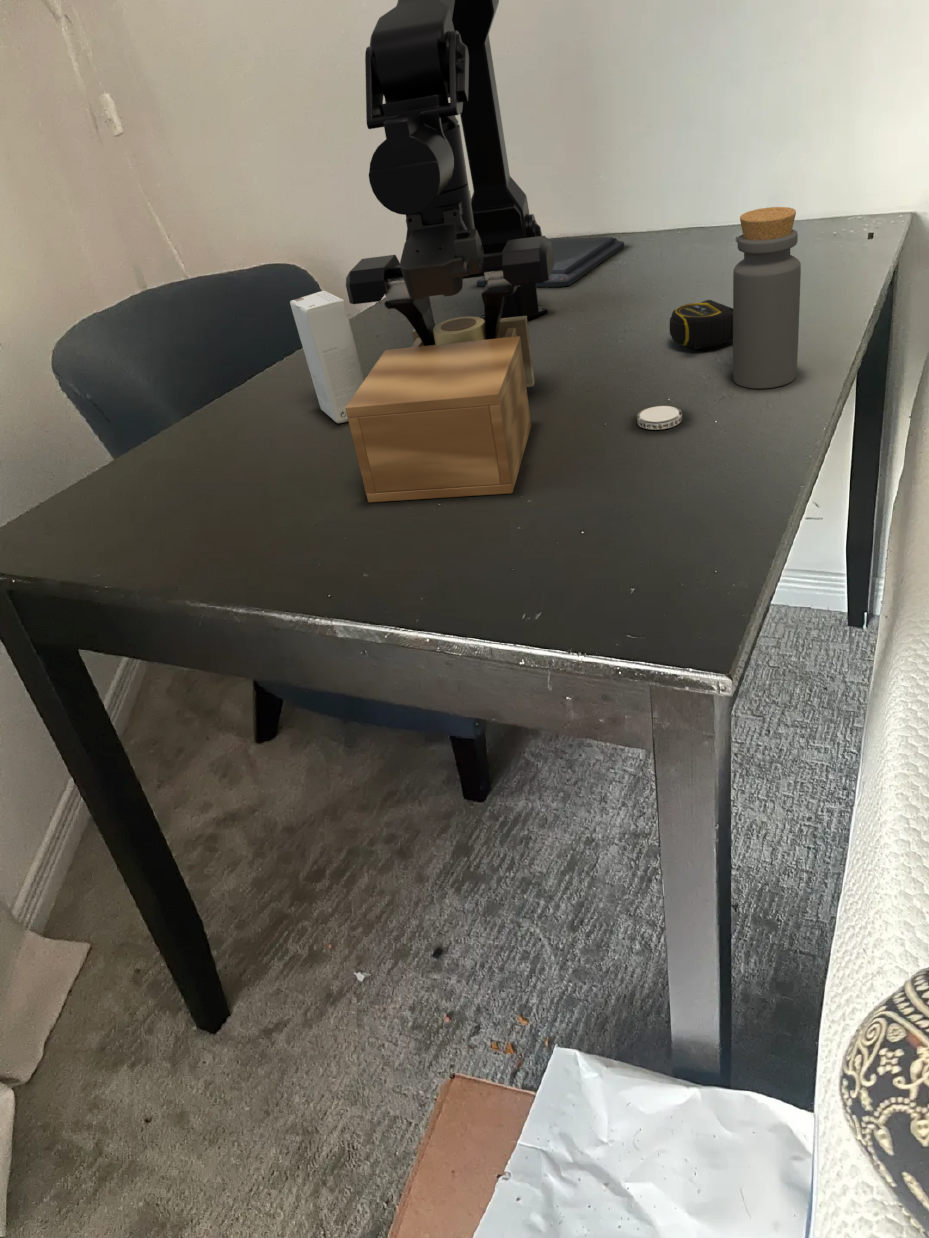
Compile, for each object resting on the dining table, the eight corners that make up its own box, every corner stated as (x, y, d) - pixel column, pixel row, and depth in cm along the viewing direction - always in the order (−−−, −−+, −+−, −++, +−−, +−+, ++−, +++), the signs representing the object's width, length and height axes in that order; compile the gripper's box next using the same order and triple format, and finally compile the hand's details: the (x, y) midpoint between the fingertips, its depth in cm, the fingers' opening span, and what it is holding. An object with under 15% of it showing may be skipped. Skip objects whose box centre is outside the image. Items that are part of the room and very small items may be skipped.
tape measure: (748, 343, 99) (749, 308, 97) (690, 359, 98) (689, 324, 96) (714, 328, 104) (714, 294, 102) (659, 343, 103) (657, 309, 101)
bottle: (725, 373, 93) (724, 213, 85) (783, 362, 93) (788, 201, 85) (744, 393, 88) (745, 226, 80) (806, 382, 88) (814, 213, 80)
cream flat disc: (634, 430, 85) (634, 423, 85) (640, 412, 88) (639, 406, 88) (679, 428, 84) (679, 422, 83) (683, 410, 87) (683, 404, 87)
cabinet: (403, 437, 93) (385, 350, 88) (531, 426, 90) (520, 336, 85) (367, 503, 82) (344, 407, 77) (512, 493, 79) (498, 394, 74)
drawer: (433, 378, 103) (422, 315, 99) (539, 368, 100) (531, 303, 96) (399, 442, 89) (384, 372, 86) (519, 432, 87) (509, 360, 83)
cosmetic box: (374, 413, 99) (348, 298, 93) (335, 426, 98) (305, 310, 91) (354, 398, 104) (328, 287, 97) (316, 410, 103) (287, 299, 96)
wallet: (565, 273, 126) (471, 273, 134) (566, 288, 127) (473, 287, 135) (629, 232, 139) (539, 234, 147) (630, 246, 140) (541, 247, 148)
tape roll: (431, 373, 93) (422, 328, 90) (472, 357, 95) (464, 312, 92) (459, 384, 89) (451, 336, 87) (501, 367, 91) (494, 320, 89)
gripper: (309, 224, 78) (351, 401, 87) (530, 193, 74) (551, 383, 83) (345, 196, 87) (380, 358, 96) (544, 167, 83) (562, 340, 92)
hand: (464, 360), depth 91 cm, fingers closed on tape roll, 5 cm apart
